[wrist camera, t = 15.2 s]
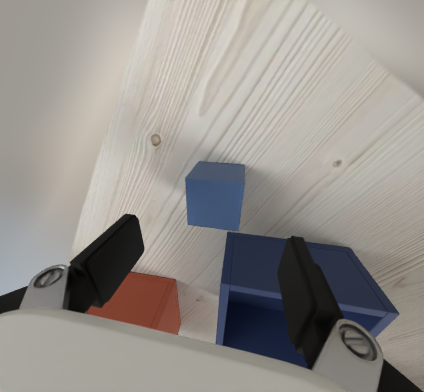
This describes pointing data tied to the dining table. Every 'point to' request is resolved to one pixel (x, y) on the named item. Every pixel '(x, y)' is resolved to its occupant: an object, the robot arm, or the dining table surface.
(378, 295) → the blue bin
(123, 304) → the red bin
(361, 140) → the dining table surface
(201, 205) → the blue block
